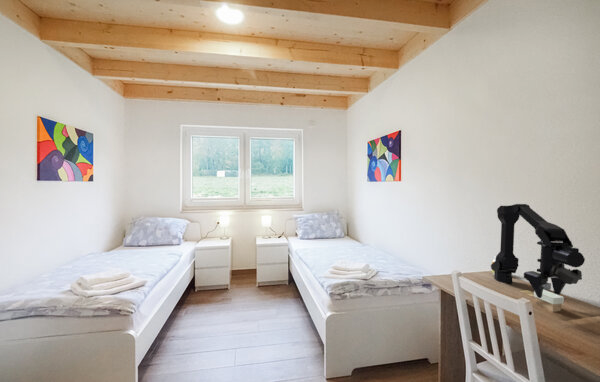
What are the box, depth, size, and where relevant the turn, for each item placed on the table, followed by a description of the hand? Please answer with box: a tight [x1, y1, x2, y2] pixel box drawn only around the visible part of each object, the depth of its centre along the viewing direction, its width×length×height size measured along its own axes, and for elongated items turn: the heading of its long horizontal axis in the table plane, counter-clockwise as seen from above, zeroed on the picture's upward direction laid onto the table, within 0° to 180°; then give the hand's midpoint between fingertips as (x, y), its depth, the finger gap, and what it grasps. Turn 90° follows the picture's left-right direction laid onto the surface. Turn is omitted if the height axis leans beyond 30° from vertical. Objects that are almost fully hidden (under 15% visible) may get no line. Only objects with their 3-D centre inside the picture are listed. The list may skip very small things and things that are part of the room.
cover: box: [533, 290, 565, 304], centre depth 101 cm, size 7×5×2 cm
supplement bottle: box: [491, 255, 497, 276], centre depth 137 cm, size 6×6×10 cm
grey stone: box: [543, 282, 552, 291], centre depth 116 cm, size 7×3×5 cm, turn 102°
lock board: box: [519, 289, 563, 313], centre depth 107 cm, size 17×13×4 cm
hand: (548, 296), depth 101 cm, fingers open, 9 cm apart
